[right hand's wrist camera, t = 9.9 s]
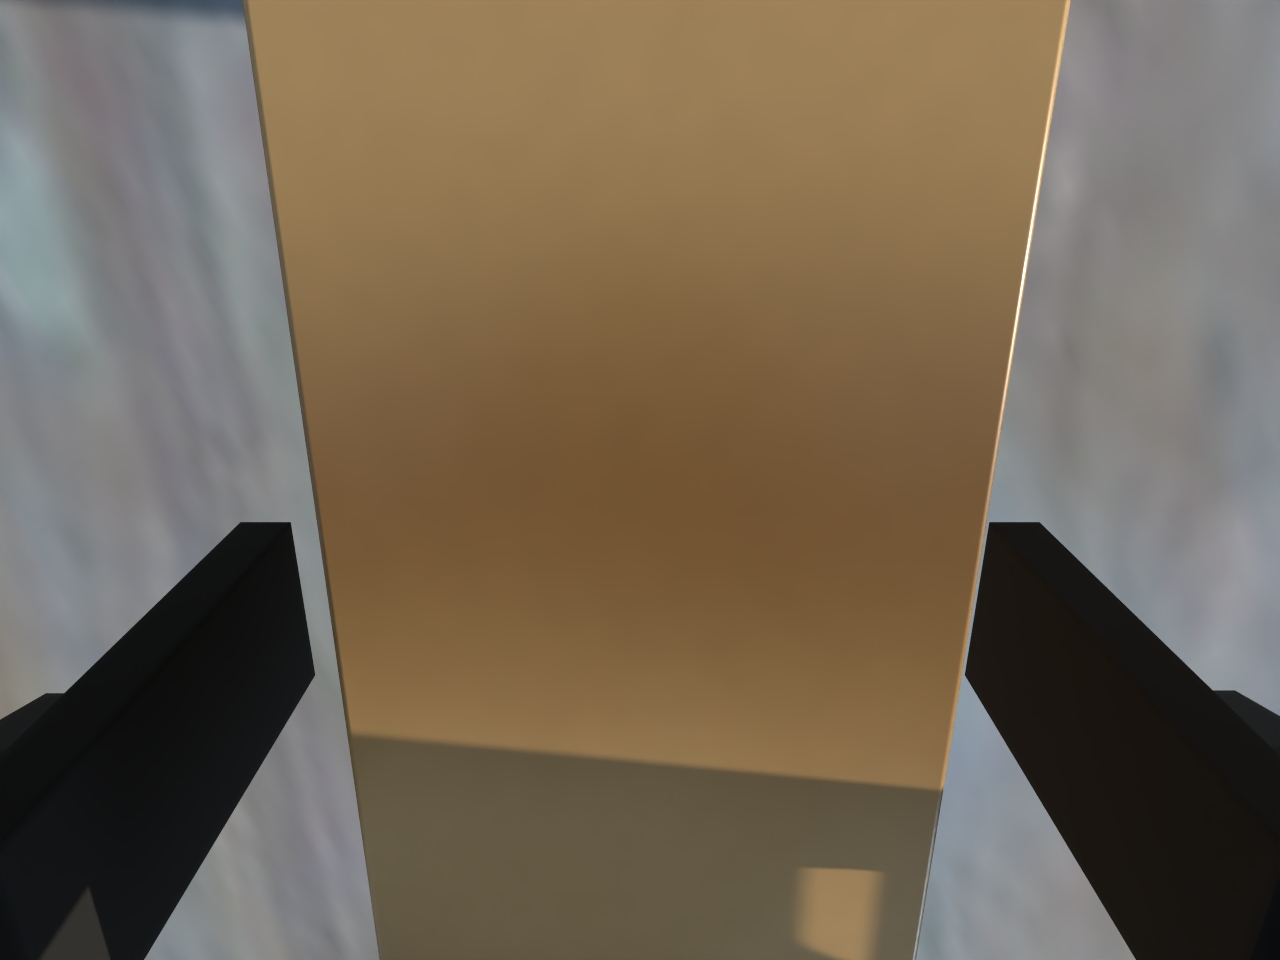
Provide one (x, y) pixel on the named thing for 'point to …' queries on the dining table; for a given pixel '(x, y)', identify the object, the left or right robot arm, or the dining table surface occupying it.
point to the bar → (652, 445)
